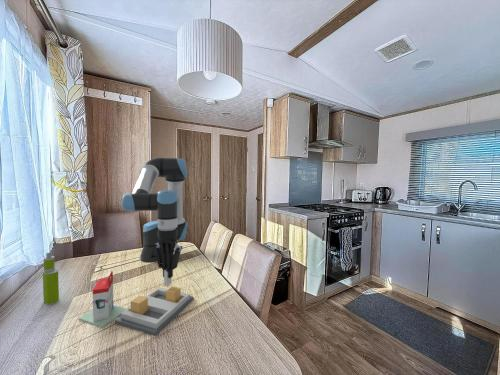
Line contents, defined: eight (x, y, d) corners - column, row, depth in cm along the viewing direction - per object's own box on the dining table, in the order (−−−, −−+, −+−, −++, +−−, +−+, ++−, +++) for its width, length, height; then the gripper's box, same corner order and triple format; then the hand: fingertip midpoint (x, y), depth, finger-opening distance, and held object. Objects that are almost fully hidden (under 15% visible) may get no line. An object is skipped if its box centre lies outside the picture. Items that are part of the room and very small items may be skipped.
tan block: (172, 297, 88) (172, 286, 88) (180, 299, 87) (180, 288, 86) (165, 303, 84) (165, 291, 84) (174, 305, 83) (174, 293, 83)
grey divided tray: (159, 291, 95) (159, 284, 95) (193, 299, 89) (193, 292, 89) (114, 323, 74) (114, 314, 74) (155, 336, 68) (155, 326, 68)
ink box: (99, 308, 81) (98, 271, 81) (113, 305, 83) (113, 269, 83) (92, 322, 74) (91, 281, 73) (109, 318, 76) (108, 279, 75)
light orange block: (139, 308, 81) (139, 295, 80) (147, 310, 79) (147, 297, 79) (130, 314, 77) (130, 301, 77) (139, 316, 76) (139, 303, 75)
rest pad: (105, 304, 85) (105, 302, 85) (127, 310, 81) (127, 308, 81) (78, 319, 76) (78, 318, 76) (102, 327, 72) (102, 326, 72)
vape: (53, 296, 90) (52, 251, 89) (60, 300, 87) (58, 253, 86) (42, 301, 87) (40, 253, 86) (48, 305, 84) (46, 256, 83)
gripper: (147, 229, 83) (148, 286, 85) (174, 232, 79) (175, 292, 81) (161, 224, 90) (161, 277, 92) (186, 227, 86) (186, 283, 88)
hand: (167, 284), depth 86 cm, fingers closed
